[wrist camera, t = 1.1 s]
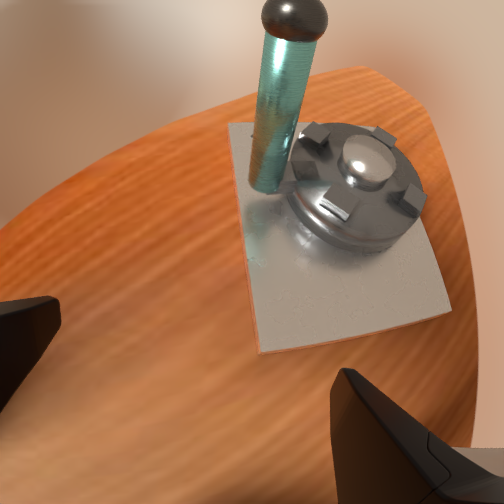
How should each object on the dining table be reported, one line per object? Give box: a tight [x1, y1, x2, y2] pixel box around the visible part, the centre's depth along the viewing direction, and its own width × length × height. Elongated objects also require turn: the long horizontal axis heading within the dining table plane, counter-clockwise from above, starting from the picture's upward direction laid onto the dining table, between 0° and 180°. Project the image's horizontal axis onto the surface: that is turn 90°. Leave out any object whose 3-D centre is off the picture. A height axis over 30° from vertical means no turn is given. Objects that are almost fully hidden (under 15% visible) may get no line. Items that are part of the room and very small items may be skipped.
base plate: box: [227, 122, 452, 356], centre depth 26 cm, size 22×17×2 cm
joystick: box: [248, 0, 427, 253], centre depth 18 cm, size 16×12×17 cm
